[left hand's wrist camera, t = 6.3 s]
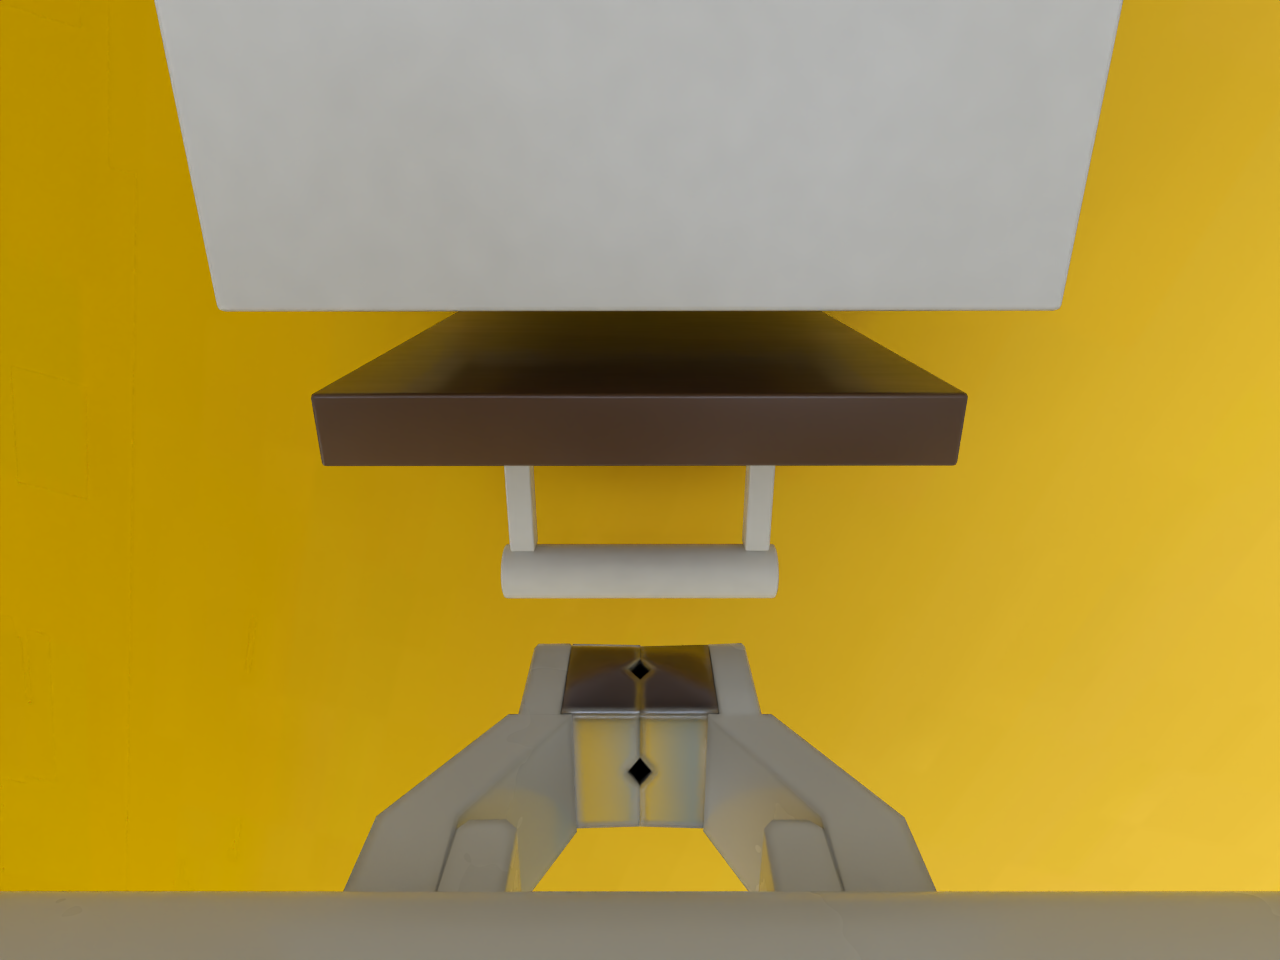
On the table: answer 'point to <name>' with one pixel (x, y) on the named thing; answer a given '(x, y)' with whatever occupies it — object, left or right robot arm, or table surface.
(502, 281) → the cabinet
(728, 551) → the drawer
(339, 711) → the table surface
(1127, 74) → the table surface
